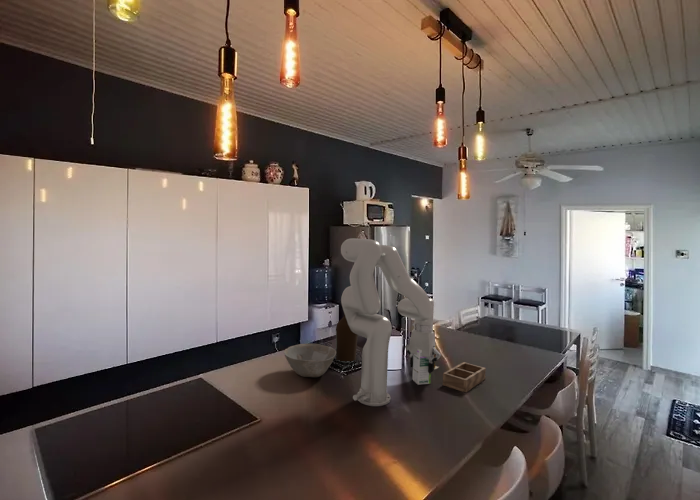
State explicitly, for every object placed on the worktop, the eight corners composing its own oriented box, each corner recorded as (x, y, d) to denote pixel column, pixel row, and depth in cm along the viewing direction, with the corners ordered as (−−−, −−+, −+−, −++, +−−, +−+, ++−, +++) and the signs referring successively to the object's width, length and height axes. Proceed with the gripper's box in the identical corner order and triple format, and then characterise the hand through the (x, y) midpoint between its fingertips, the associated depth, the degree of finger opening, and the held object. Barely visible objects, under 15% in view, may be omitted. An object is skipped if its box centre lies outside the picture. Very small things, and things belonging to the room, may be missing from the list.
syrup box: (418, 385, 155) (419, 350, 154) (411, 379, 160) (413, 345, 159) (430, 384, 156) (432, 349, 155) (424, 378, 162) (425, 345, 161)
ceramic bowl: (311, 390, 147) (312, 364, 146) (271, 374, 161) (272, 351, 160) (346, 373, 164) (347, 351, 164) (308, 361, 178) (308, 340, 178)
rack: (465, 392, 149) (466, 380, 148) (442, 385, 155) (443, 373, 155) (485, 379, 163) (485, 368, 163) (463, 373, 170) (463, 362, 169)
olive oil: (360, 358, 184) (361, 307, 183) (352, 365, 174) (354, 312, 173) (339, 355, 188) (341, 305, 186) (331, 362, 178) (332, 309, 176)
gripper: (400, 325, 160) (399, 365, 161) (437, 333, 148) (436, 377, 149) (410, 322, 165) (409, 361, 166) (447, 330, 154) (445, 372, 155)
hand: (421, 368), depth 158 cm, fingers closed on syrup box, 7 cm apart
